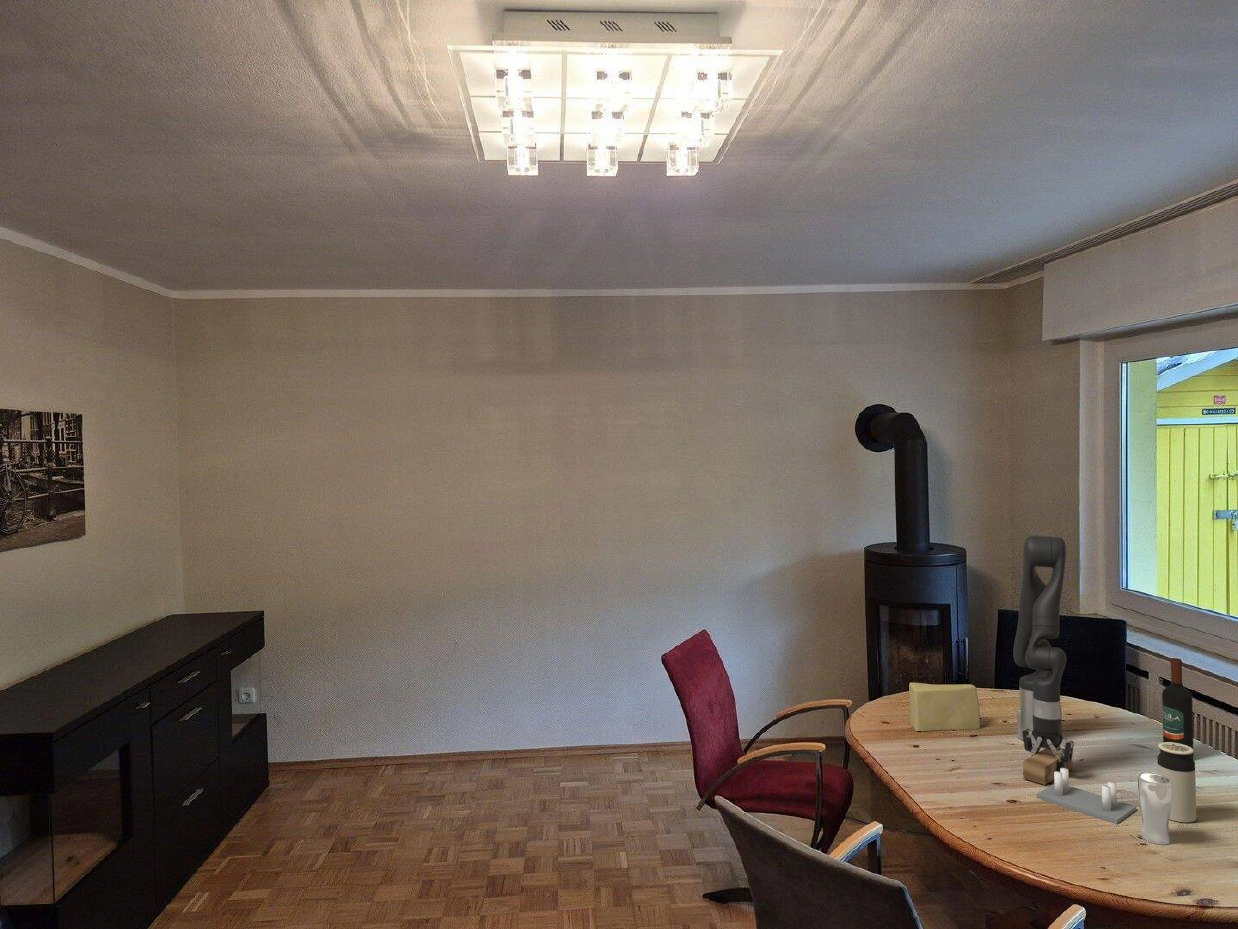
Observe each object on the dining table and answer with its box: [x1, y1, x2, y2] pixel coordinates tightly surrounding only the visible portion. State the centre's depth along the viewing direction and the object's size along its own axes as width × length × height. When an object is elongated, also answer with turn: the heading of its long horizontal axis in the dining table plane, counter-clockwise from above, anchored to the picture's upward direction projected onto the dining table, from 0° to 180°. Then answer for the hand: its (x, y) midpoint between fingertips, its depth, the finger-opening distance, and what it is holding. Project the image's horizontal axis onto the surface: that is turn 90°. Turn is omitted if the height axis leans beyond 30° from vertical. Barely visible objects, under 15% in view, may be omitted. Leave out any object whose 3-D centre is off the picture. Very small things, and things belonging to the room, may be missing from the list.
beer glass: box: [1137, 772, 1172, 846], centre depth 191 cm, size 7×7×15 cm
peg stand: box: [1036, 768, 1137, 825], centre depth 211 cm, size 20×12×7 cm, turn 36°
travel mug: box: [1156, 741, 1197, 823], centre depth 202 cm, size 8×8×18 cm
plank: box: [1022, 747, 1073, 786], centre depth 230 cm, size 18×6×5 cm, turn 128°
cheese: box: [908, 682, 981, 732], centre depth 270 cm, size 22×10×15 cm, turn 82°
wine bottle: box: [1161, 657, 1195, 758], centre depth 239 cm, size 8×8×30 cm
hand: (1048, 770), depth 230 cm, fingers closed on plank, 6 cm apart
